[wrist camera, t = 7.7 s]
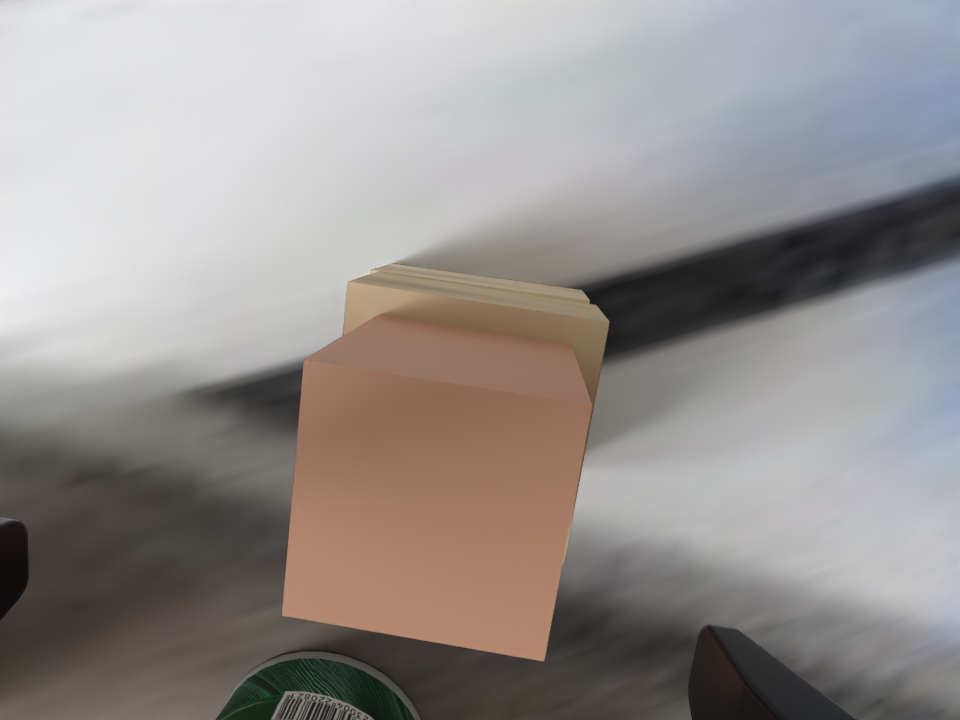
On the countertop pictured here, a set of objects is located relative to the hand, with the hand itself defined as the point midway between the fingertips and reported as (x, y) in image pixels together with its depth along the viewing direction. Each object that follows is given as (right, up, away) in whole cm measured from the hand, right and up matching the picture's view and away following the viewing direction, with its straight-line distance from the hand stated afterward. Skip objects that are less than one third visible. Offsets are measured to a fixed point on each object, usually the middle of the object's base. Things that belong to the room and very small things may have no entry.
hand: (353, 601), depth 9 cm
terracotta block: (+1, +2, +7) cm, 7 cm away
